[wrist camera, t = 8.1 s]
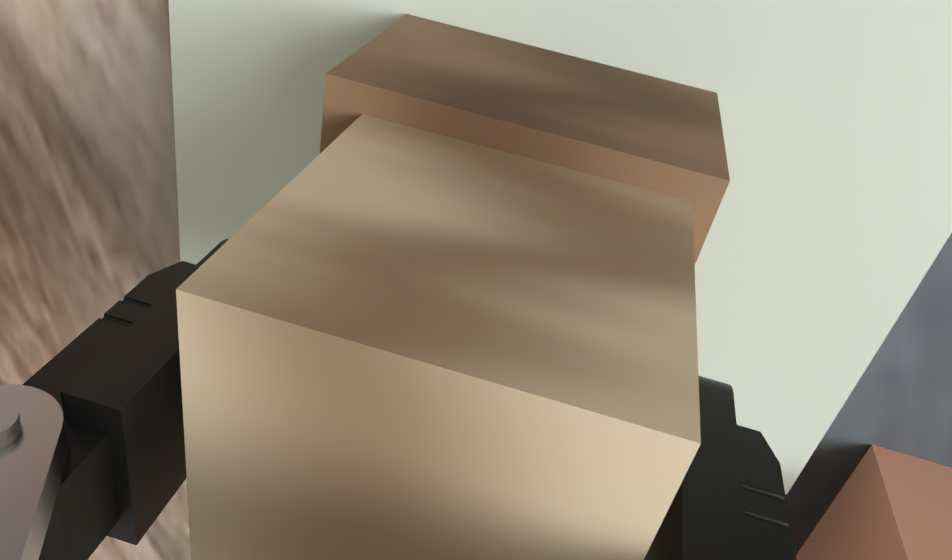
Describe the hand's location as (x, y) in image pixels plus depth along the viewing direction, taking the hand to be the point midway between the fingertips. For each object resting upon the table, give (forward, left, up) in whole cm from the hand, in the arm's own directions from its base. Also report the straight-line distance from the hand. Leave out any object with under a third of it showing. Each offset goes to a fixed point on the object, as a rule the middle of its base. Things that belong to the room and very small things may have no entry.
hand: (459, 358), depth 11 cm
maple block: (0, 0, -2) cm, 2 cm away
